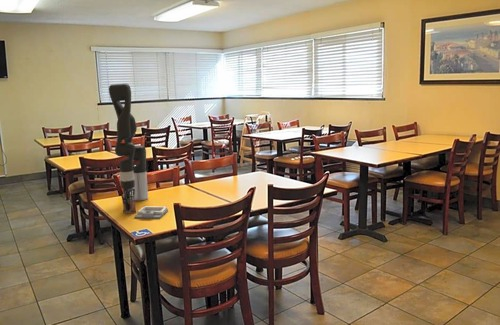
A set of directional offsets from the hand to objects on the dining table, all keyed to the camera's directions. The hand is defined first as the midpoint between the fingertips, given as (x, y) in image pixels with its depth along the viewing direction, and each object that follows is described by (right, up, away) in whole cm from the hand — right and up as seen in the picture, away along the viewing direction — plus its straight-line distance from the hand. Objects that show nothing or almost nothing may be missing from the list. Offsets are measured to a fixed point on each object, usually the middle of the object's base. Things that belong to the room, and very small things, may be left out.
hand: (129, 209), depth 237 cm
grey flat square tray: (+14, -2, -5) cm, 15 cm away
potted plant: (0, -2, 0) cm, 2 cm away
